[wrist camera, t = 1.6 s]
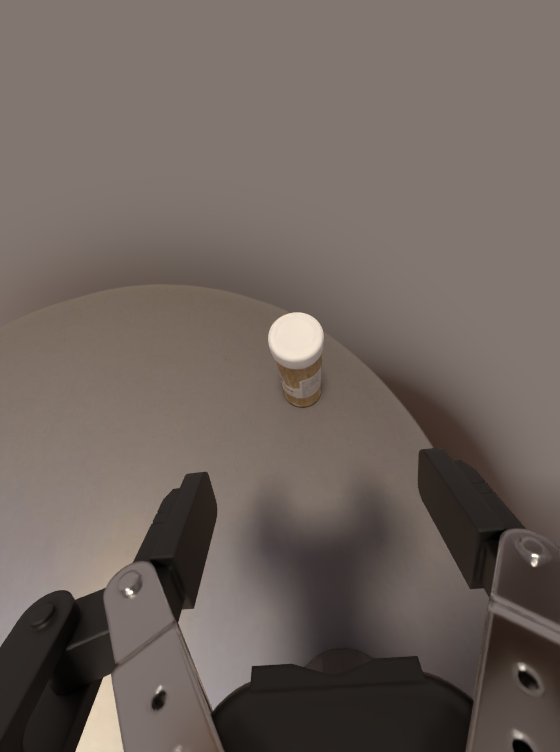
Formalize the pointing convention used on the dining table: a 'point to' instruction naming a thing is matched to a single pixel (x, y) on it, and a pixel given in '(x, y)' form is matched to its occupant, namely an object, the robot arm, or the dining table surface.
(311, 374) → the sprinkles bottle
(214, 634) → the dining table surface
